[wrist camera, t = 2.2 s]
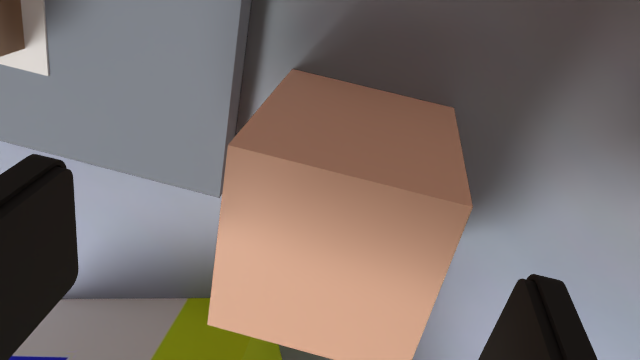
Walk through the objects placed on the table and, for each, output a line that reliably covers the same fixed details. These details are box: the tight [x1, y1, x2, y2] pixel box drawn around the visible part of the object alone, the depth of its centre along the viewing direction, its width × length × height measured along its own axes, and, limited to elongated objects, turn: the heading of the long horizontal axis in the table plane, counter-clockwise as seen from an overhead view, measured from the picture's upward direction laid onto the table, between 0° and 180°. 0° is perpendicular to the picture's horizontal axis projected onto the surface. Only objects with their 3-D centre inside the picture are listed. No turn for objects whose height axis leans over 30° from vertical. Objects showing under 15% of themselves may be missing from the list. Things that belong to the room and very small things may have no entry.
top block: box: [207, 69, 473, 360], centre depth 14 cm, size 5×5×6 cm
